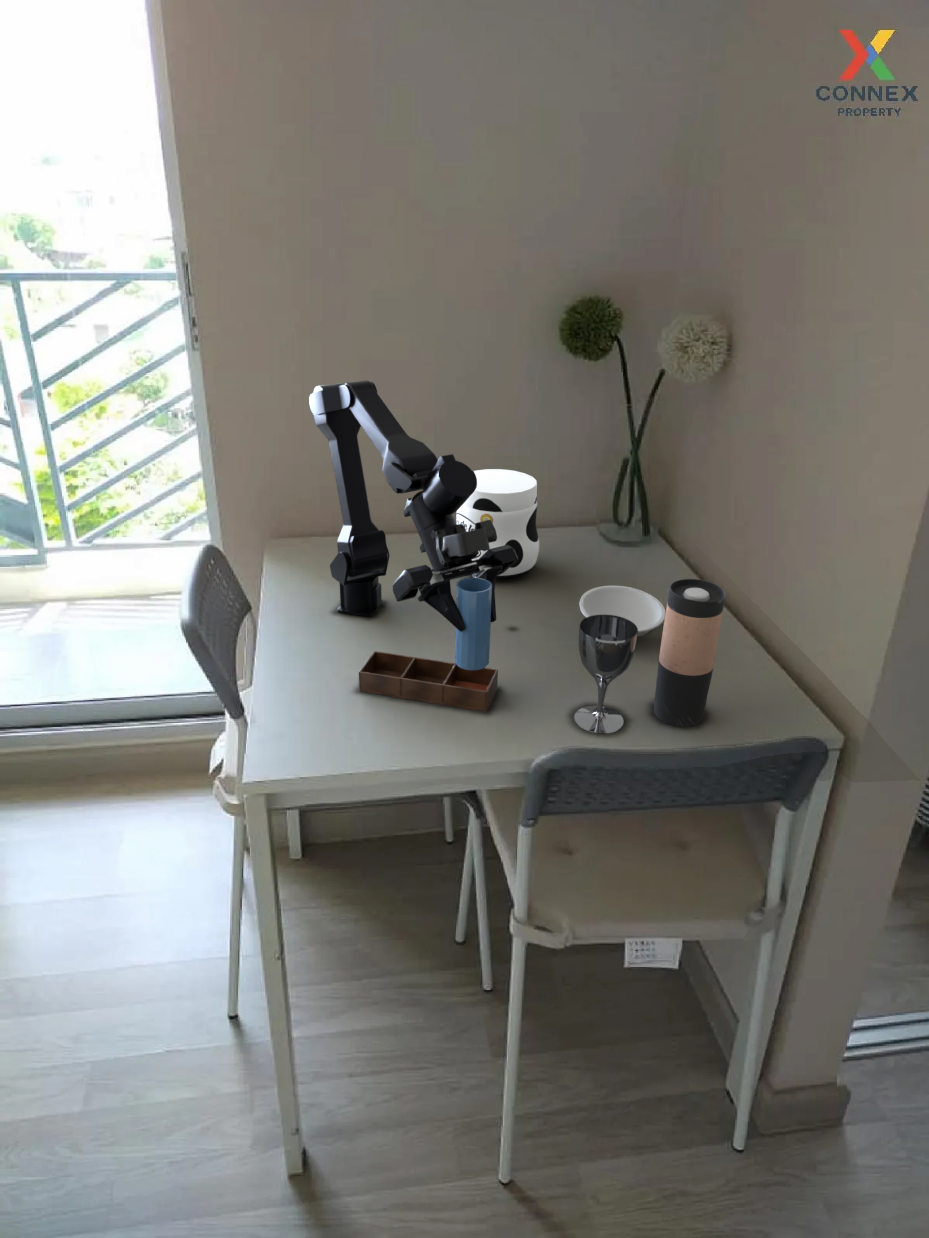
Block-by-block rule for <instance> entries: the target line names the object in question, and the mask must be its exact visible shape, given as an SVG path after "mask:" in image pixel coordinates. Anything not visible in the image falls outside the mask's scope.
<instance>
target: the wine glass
mask: <svg viewBox="0 0 929 1238" xmlns="http://www.w3.org/2000/svg"><path fill="white" fill-rule="evenodd" d="M637 636H638V628H637V626H636V625H635V624H634V623H633V622H631V621H630V620H628V619H625V618H623V617H619V616H615V615H593V616H589V617H587V618H586V617H585V618H583V619H582V620H581V621H580V623H579V629H578V652H579V658H580V661H581V665H582V666H583V667H584V669H585V670H586V671H587V672H588V673H589V675H590V676H591V677H592V678H593V680H594V681H595V683H596V685H597V705H588V706H583V707H581V708H579V709H578V710H577V711H576V712H575V713H574V715H573V719H574V722H575V724H576V725H577V726H578V727H580V728H581V729H583V730H585V731H587V732H590V733H594V734H595V733H596V734H611V733H615V732H617V731H620V729H622V727H623V726H624V721H625V720H624V717H623V716H622V715H621V714H620V713H619V712H618V711H617V710H615V709H613V708H611V707H607V706H604V701H605V697H606V692H607V689H608V687H609V685H610V684H611V683H612V682H613V681H614V680H615V679H616V678H618V677H619V676H621V675H622V674H624V672H626V670H628V668H629V666H630V665H631V663H632V660H633V658H634V655H635V651H636V647H637V642H638V637H639V636H638V637H637Z"/></svg>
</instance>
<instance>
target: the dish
mask: <svg viewBox="0 0 929 1238" xmlns="http://www.w3.org/2000/svg"><path fill="white" fill-rule="evenodd" d="M578 604H579V609H580V612H581V613H582V615H583V616H584V617H585V618H587V617H589V616H593V615H615V616H619V617H623V618H625V619H628V620H630V621H631V622H633V623H634V624H635V625H636V626H637V628H638V636H637V638H638V637H641V636H644V635H646V634H648V633H650V632H651V631H652V630H654V629H656V628H658V627H659V626H661V625H662V624H663V623H664V621H665V614H666V609H665V607H664V605H663V604H662V602H661V601H660V600H659V599H657V598H656V597H655V596H653V595H652V594H650V593H647V592H646V591H644V590H640V589H638V588H636V587H635V588H634V587H632V586H631V587H630V586H626V585H625V586H624V585H603V586H602V585H601V586H597V587H594V588H591V589H589V590H587V591H585V592H584V593H583V594H582V596H581V597H580V599H579V603H578Z"/></svg>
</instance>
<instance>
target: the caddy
mask: <svg viewBox="0 0 929 1238" xmlns="http://www.w3.org/2000/svg"><path fill="white" fill-rule="evenodd" d="M498 681H499V669H496V668H490V667H485V668H483V669H480V670H466V669H462V668H460V667H458V666H457V665H456V663H455V662H450V661H443V660H438V659H437V660H436V659H430V658H425V657H424V658H423V657H417V656H411V655H404V654H396V653H390V652H384V651H377V650H374V651H373V652H372V654H370V656H369V657H368V658H367V660H366V661H365V663H364V664H363V666H362V667H361V668H360V669H359V671H358V687H359V688H358V690H359V692H362V693H367V694H372V695H373V694H374V695H380V696H385V697H393V698H397V699H403V700H404V699H405V700H410V701H417V702H423V703H427V704H428V703H430V704H434V705H440V706H448V707H454V708H460V709H466V710H473V711H478V712H484V713H487V712H488V711H489V709H490V706H491V704H492V702H493V699H494V697H495V695H496V693H497V690H498Z"/></svg>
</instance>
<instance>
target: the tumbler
mask: <svg viewBox="0 0 929 1238" xmlns="http://www.w3.org/2000/svg"><path fill="white" fill-rule="evenodd" d="M491 601H492V584H491V582H490V581H488V580H486V579H482V578H473V576H472V577H465V578H461V579H459V580H458V581H457V582H456V584H455V603H456V605H457V608H458V610H459V612H460V614H461V617H462V619H463V622H464V625H465V630H464V631H462V632H460V631H459V630H458V629H457V628H456V627H455V633H454V634H455V637H454V639H455V640H454V663H456V665H457V666H458V667H460V668H462V669H466V670H480V669H483V668H487V667H488V665H489V664H490V650H491V649H490V648H491V624H492V622H491Z"/></svg>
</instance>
